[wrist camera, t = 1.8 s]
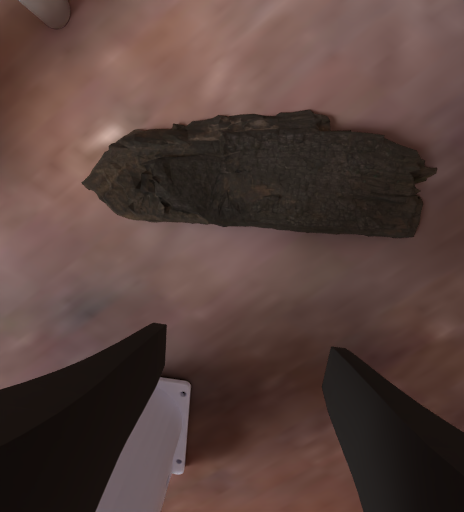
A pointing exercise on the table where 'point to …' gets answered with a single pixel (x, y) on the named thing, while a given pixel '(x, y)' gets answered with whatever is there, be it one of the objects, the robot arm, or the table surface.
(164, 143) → the wood
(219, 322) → the table surface
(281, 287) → the table surface
